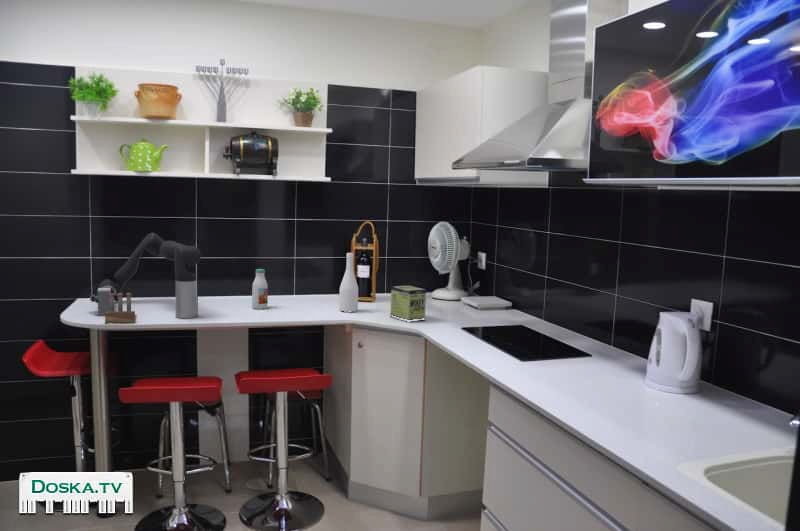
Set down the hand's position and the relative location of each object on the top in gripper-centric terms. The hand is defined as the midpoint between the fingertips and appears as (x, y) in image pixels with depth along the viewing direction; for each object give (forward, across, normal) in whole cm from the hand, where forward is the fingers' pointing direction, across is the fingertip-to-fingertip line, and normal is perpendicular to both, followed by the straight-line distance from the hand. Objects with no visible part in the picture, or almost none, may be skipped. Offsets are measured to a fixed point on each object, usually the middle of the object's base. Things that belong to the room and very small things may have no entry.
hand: (103, 300), depth 302 cm
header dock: (+9, +8, +7) cm, 14 cm away
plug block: (-3, 0, +7) cm, 7 cm away
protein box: (+28, +139, +8) cm, 142 cm away
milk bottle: (-9, +72, +7) cm, 73 cm away
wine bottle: (+5, +115, +7) cm, 115 cm away
